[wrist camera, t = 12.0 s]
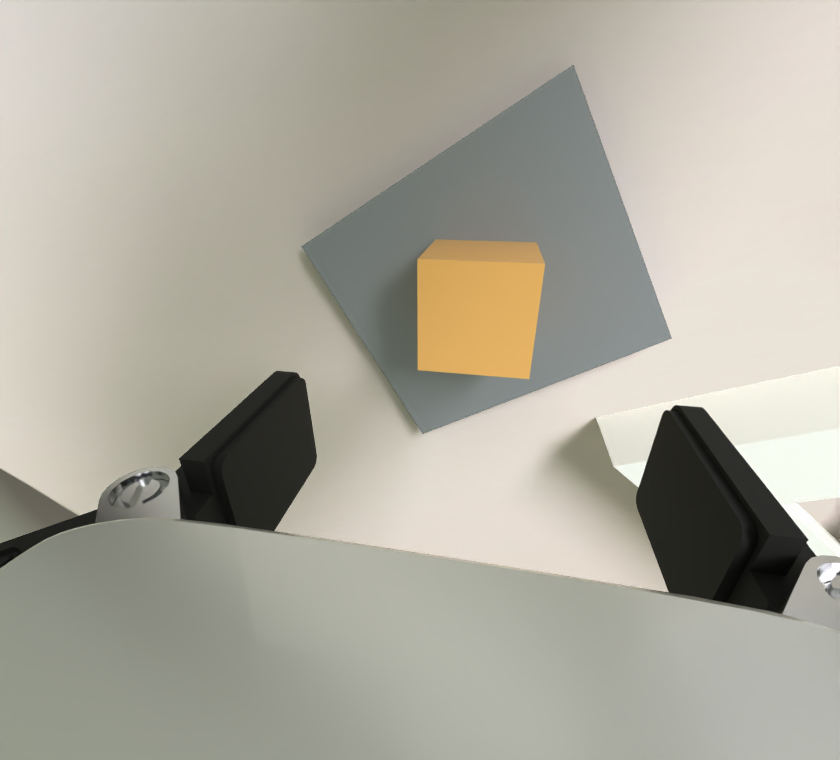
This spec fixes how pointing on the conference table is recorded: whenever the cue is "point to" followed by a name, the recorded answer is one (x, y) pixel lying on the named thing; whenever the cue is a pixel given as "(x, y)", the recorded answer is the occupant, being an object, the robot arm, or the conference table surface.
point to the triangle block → (758, 440)
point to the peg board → (500, 221)
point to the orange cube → (478, 307)
